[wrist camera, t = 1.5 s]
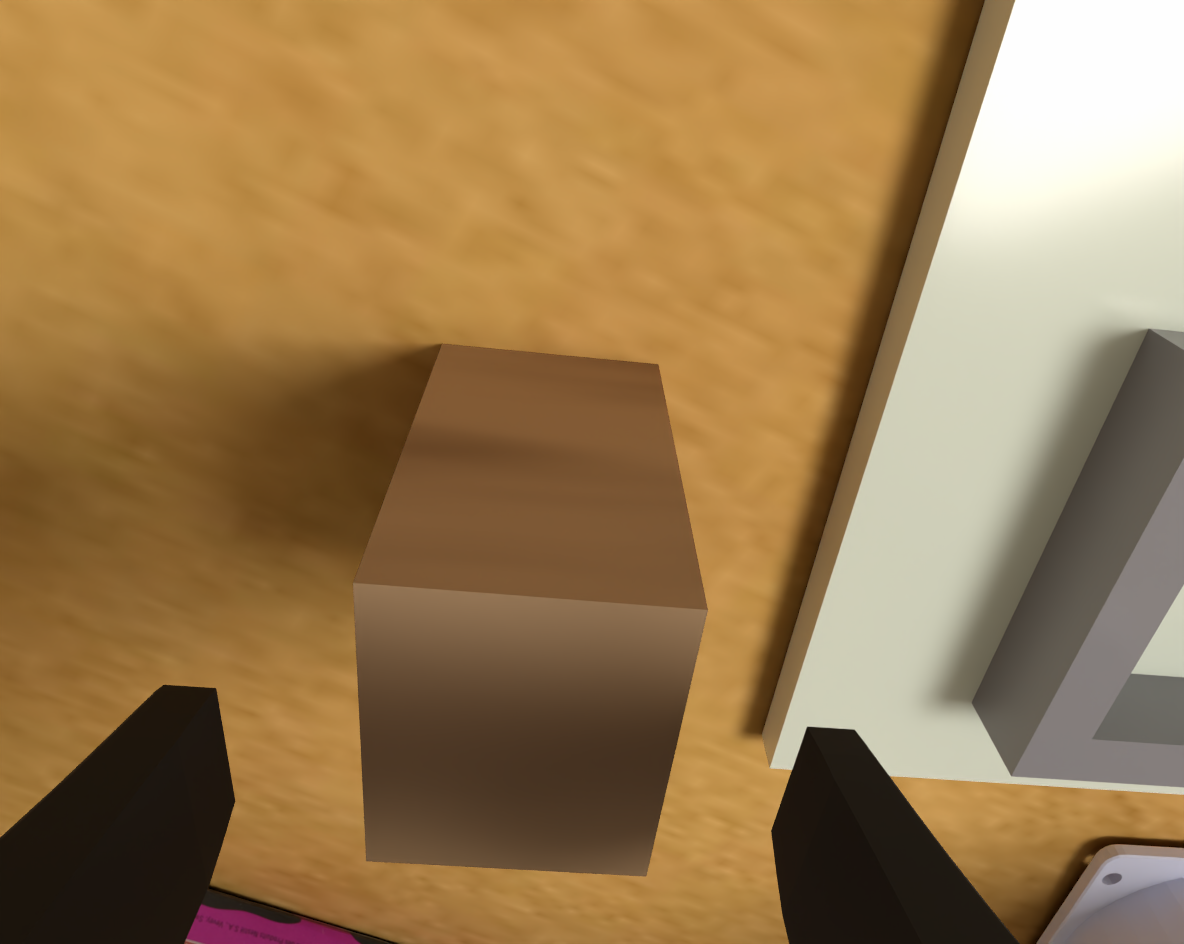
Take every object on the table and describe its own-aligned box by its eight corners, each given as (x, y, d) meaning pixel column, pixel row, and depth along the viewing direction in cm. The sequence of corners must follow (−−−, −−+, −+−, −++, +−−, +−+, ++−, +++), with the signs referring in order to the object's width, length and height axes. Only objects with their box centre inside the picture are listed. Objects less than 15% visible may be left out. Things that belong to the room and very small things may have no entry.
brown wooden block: (623, 576, 18) (646, 876, 12) (438, 561, 18) (366, 861, 12) (658, 364, 16) (707, 610, 10) (441, 343, 15) (353, 582, 9)
